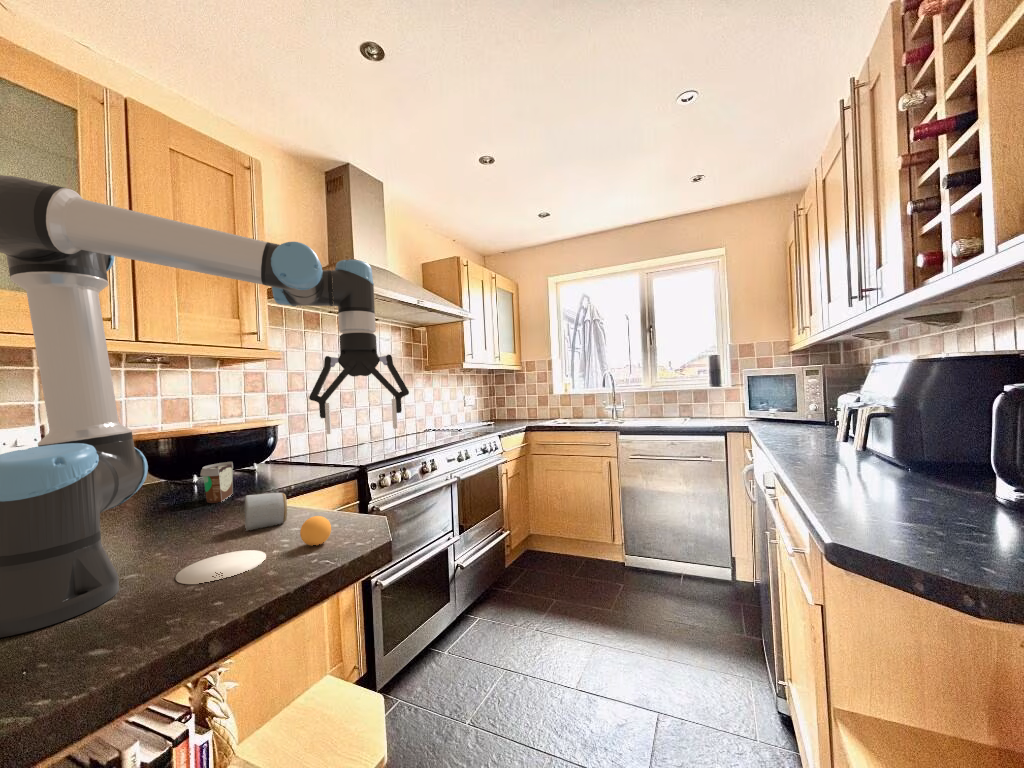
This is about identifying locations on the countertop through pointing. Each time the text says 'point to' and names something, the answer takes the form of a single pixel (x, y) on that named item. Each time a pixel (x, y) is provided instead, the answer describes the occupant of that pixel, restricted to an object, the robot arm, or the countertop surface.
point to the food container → (218, 481)
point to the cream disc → (220, 566)
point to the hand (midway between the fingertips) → (362, 431)
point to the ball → (315, 530)
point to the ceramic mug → (265, 510)
